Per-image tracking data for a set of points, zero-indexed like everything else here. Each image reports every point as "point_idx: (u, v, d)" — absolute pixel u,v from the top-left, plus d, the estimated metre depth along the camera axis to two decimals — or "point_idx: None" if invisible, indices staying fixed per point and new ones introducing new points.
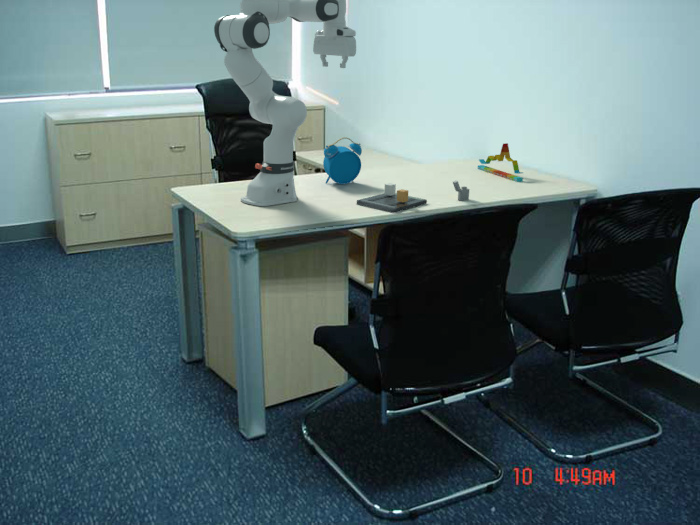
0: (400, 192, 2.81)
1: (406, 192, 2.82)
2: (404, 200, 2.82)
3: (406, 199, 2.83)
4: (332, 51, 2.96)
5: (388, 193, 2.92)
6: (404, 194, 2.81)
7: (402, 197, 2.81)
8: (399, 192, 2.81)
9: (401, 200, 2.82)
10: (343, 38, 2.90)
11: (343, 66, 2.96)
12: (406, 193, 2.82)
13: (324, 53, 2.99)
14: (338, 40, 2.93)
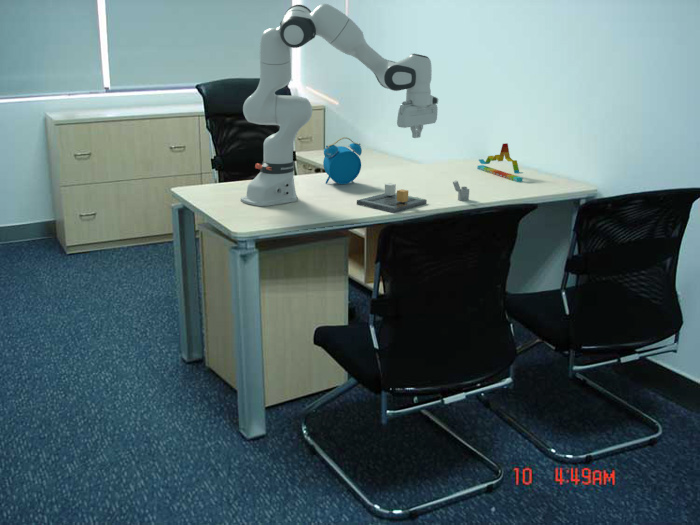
0: (400, 192, 2.81)
1: (406, 192, 2.82)
2: (404, 200, 2.82)
3: (406, 199, 2.83)
4: (422, 121, 2.78)
5: (388, 193, 2.92)
6: (404, 194, 2.81)
7: (402, 197, 2.81)
8: (399, 192, 2.81)
9: (401, 200, 2.82)
10: (434, 106, 2.81)
11: None
12: (406, 193, 2.82)
13: (415, 125, 2.76)
14: (428, 108, 2.79)
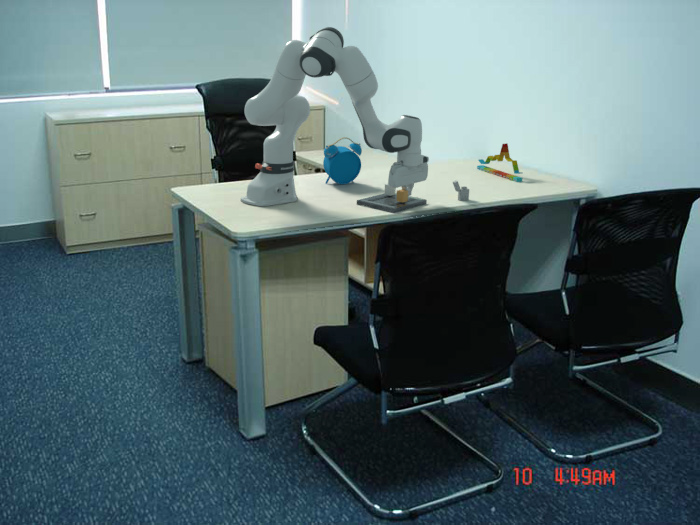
0: (400, 192, 2.81)
1: (406, 192, 2.81)
2: (404, 200, 2.82)
3: (406, 199, 2.82)
4: (413, 179, 2.83)
5: (388, 193, 2.92)
6: (404, 194, 2.81)
7: (402, 197, 2.81)
8: (399, 192, 2.81)
9: (401, 200, 2.82)
10: (425, 164, 2.85)
11: None
12: (406, 193, 2.82)
13: (406, 184, 2.80)
14: (419, 167, 2.84)
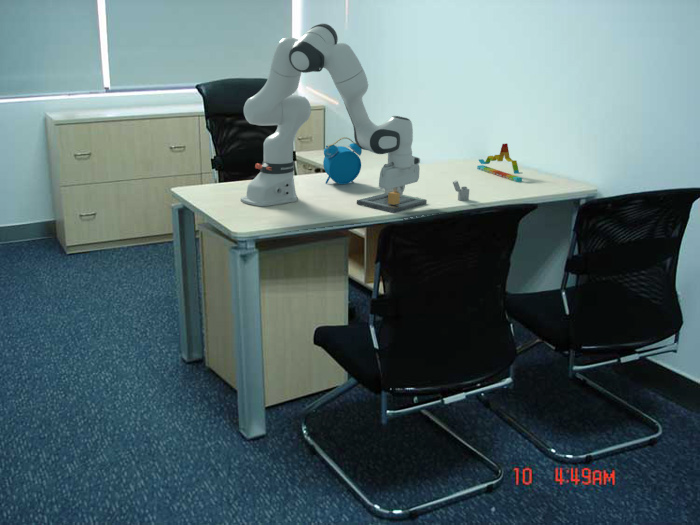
0: (391, 194, 2.77)
1: (397, 194, 2.78)
2: (395, 202, 2.78)
3: (397, 201, 2.79)
4: (404, 181, 2.79)
5: None
6: (396, 196, 2.77)
7: (393, 199, 2.77)
8: (390, 194, 2.78)
9: (392, 202, 2.78)
10: (416, 165, 2.81)
11: None
12: (397, 195, 2.78)
13: (397, 186, 2.76)
14: (410, 169, 2.80)
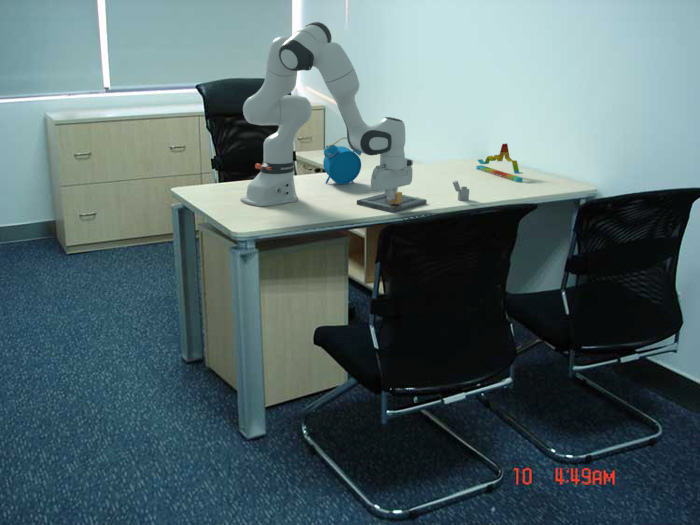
0: None
1: (400, 194, 2.79)
2: (398, 202, 2.79)
3: (400, 201, 2.80)
4: (396, 183, 2.75)
5: None
6: (398, 196, 2.78)
7: (396, 199, 2.78)
8: None
9: (395, 202, 2.79)
10: (409, 168, 2.78)
11: None
12: (400, 195, 2.79)
13: (389, 188, 2.73)
14: (402, 171, 2.76)
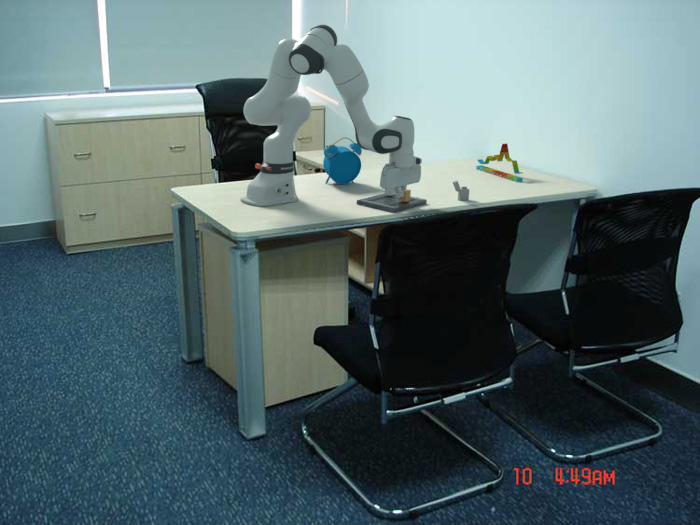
0: None
1: (408, 191, 2.83)
2: (406, 199, 2.83)
3: (408, 198, 2.84)
4: (405, 181, 2.79)
5: (388, 193, 2.92)
6: (406, 194, 2.82)
7: (404, 196, 2.82)
8: None
9: (403, 199, 2.83)
10: (418, 166, 2.81)
11: None
12: (408, 192, 2.83)
13: (398, 186, 2.76)
14: (411, 169, 2.80)
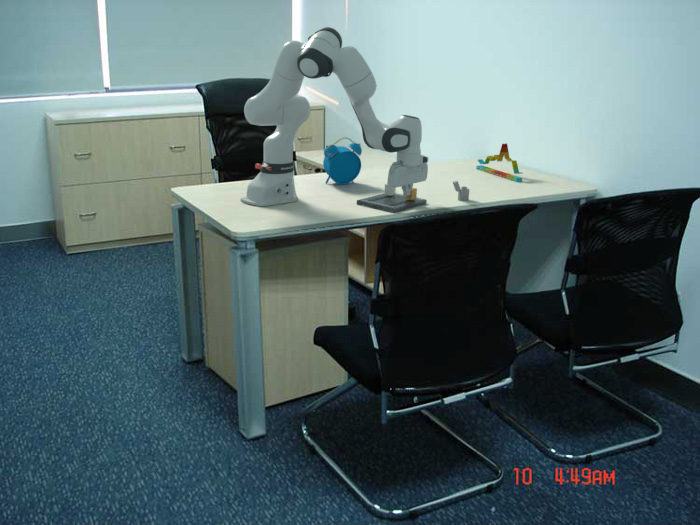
0: None
1: (415, 190, 2.85)
2: (413, 198, 2.86)
3: (414, 197, 2.86)
4: (412, 179, 2.82)
5: (388, 193, 2.92)
6: (413, 192, 2.85)
7: (411, 195, 2.85)
8: None
9: (410, 198, 2.85)
10: (425, 164, 2.84)
11: None
12: (415, 191, 2.86)
13: (405, 184, 2.79)
14: (418, 167, 2.83)
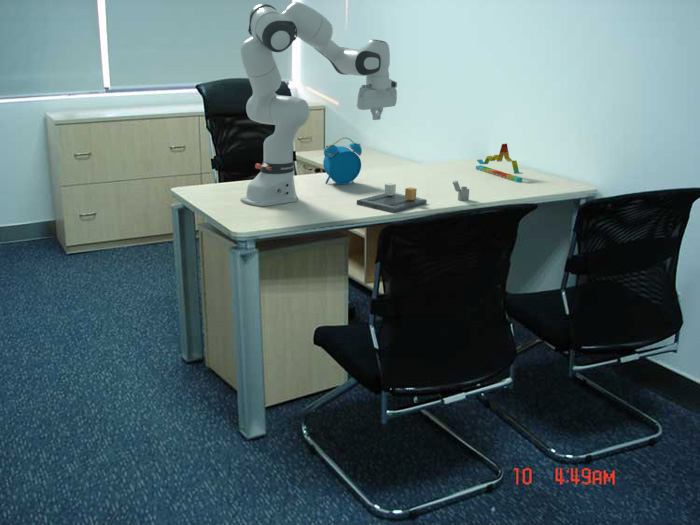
0: (408, 190, 2.85)
1: (414, 190, 2.85)
2: (412, 198, 2.85)
3: (414, 197, 2.86)
4: (381, 103, 2.93)
5: (388, 193, 2.92)
6: (412, 192, 2.85)
7: (410, 195, 2.85)
8: (407, 190, 2.85)
9: (409, 198, 2.85)
10: (394, 89, 2.96)
11: None
12: (414, 191, 2.85)
13: (374, 107, 2.91)
14: (387, 92, 2.94)
